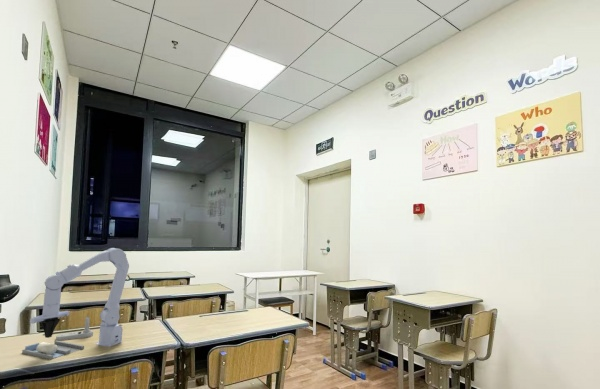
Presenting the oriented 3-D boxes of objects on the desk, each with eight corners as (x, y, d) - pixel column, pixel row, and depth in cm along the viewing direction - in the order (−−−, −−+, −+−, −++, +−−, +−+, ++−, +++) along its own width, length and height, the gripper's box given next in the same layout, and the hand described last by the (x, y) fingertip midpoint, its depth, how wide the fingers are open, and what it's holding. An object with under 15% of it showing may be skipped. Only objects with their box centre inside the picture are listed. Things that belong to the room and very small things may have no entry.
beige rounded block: (56, 353, 139) (58, 343, 140) (46, 356, 135) (48, 345, 136) (45, 351, 142) (47, 341, 142) (35, 353, 138) (37, 343, 139)
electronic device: (57, 319, 161) (94, 315, 168) (56, 340, 160) (93, 335, 167) (56, 322, 156) (93, 317, 164) (55, 343, 155) (92, 338, 163)
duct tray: (83, 349, 145) (84, 342, 146) (50, 360, 132) (51, 353, 133) (56, 344, 152) (57, 337, 152) (21, 354, 139) (22, 347, 139)
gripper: (62, 300, 149) (59, 331, 148) (26, 306, 136) (22, 340, 134) (73, 301, 147) (70, 333, 145) (38, 307, 133) (34, 343, 132)
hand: (48, 337), depth 139 cm, fingers closed
